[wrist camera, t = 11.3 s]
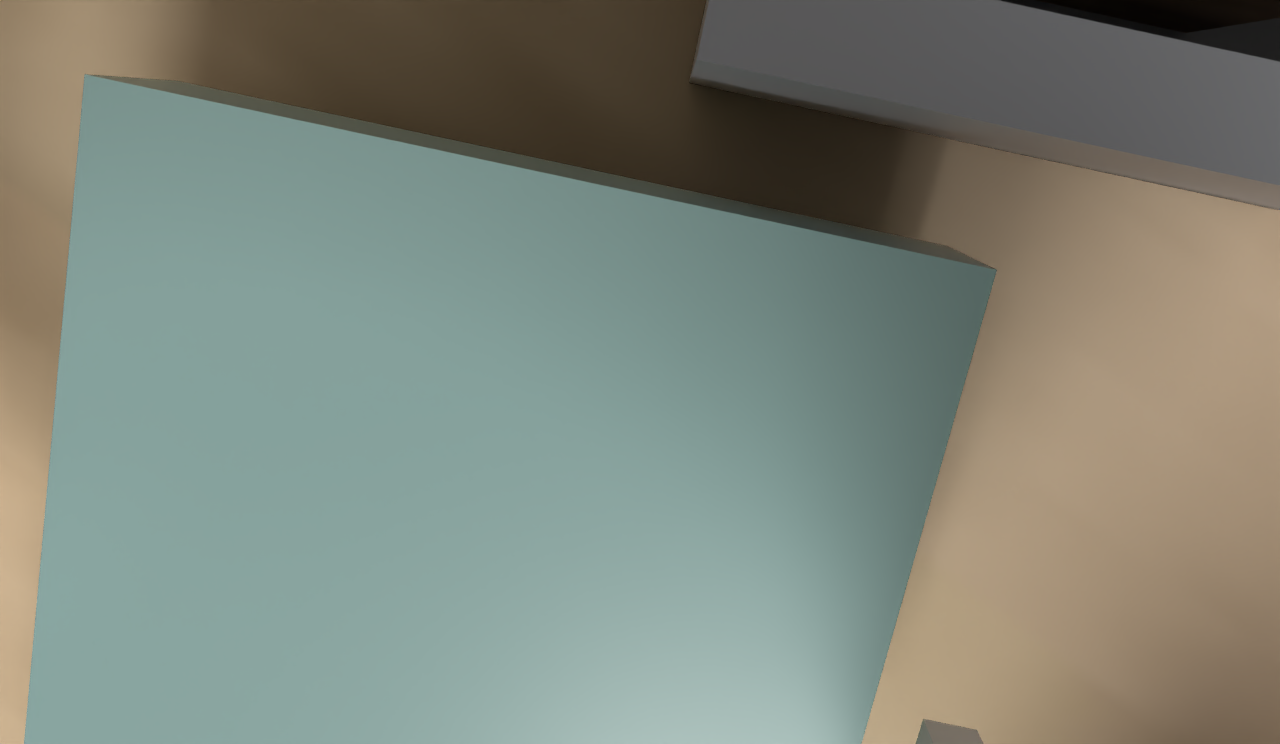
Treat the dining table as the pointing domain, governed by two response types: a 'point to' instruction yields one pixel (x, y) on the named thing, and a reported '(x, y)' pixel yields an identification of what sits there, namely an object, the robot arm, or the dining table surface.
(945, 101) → the box
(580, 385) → the lid
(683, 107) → the dining table surface
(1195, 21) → the walnut block
